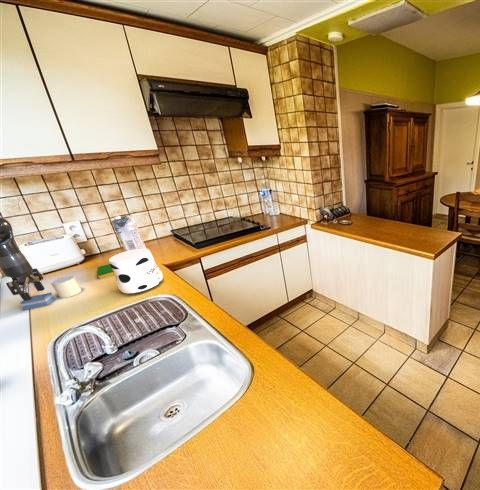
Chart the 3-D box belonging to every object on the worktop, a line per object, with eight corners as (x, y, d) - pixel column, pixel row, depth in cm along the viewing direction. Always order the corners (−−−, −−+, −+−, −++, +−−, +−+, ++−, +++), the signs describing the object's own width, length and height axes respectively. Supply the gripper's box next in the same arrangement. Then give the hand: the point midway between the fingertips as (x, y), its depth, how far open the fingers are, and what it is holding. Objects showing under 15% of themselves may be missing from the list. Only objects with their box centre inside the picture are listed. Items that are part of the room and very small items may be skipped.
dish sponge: (99, 279, 142) (97, 275, 141) (99, 270, 151) (97, 267, 150) (116, 274, 147) (114, 270, 146) (115, 266, 156) (113, 262, 155)
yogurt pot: (55, 300, 125) (46, 285, 122) (65, 291, 132) (57, 277, 128) (76, 295, 127) (68, 281, 124) (85, 287, 134) (77, 274, 131)
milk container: (171, 283, 134) (158, 251, 127) (129, 301, 121) (112, 266, 114) (157, 275, 143) (144, 244, 136) (116, 290, 130) (99, 258, 123)
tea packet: (24, 310, 118) (19, 302, 117) (33, 304, 123) (28, 296, 121) (48, 305, 121) (43, 298, 119) (55, 299, 125) (51, 292, 124)
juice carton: (149, 251, 173) (132, 212, 163) (145, 257, 165) (128, 216, 154) (132, 255, 170) (114, 215, 159) (128, 261, 161) (108, 219, 150)
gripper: (14, 258, 118) (35, 289, 125) (-13, 272, 106) (11, 306, 112) (37, 255, 121) (56, 285, 127) (12, 268, 108) (35, 301, 115)
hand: (35, 295), depth 120 cm, fingers open, 8 cm apart
